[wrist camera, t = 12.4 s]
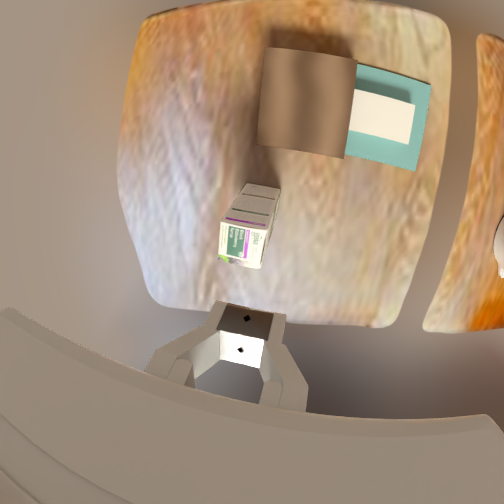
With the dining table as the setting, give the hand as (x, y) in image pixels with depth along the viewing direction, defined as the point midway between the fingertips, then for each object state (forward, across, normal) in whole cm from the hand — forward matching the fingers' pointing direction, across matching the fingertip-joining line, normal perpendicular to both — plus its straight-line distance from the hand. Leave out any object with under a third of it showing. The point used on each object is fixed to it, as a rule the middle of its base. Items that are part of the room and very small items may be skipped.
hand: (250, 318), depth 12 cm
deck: (+34, 0, -8) cm, 35 cm away
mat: (+34, -12, -8) cm, 37 cm away
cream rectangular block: (+34, -11, -8) cm, 36 cm away
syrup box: (+34, +5, +9) cm, 36 cm away
